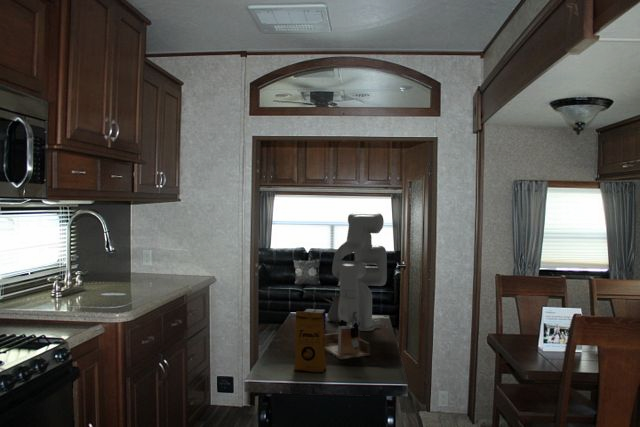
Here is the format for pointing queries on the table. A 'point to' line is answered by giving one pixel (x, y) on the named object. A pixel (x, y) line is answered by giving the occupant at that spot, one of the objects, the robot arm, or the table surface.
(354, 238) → the robot arm
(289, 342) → the table surface
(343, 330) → the small box
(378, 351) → the table surface
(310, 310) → the puzzle cube
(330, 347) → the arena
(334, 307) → the coffee pot
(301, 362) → the coffee package
